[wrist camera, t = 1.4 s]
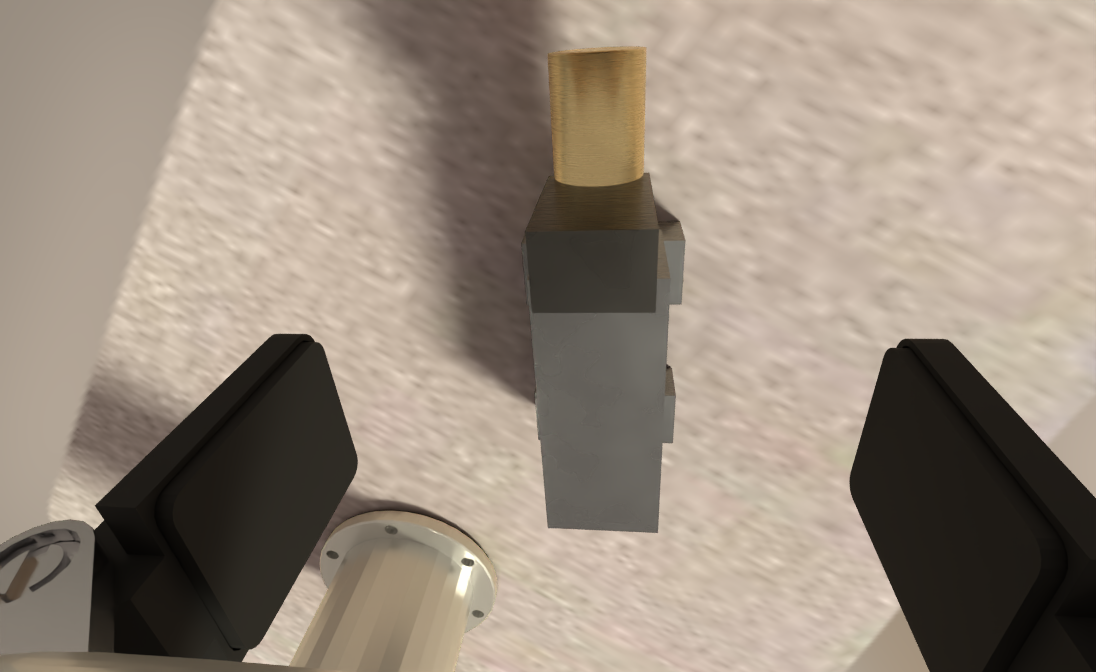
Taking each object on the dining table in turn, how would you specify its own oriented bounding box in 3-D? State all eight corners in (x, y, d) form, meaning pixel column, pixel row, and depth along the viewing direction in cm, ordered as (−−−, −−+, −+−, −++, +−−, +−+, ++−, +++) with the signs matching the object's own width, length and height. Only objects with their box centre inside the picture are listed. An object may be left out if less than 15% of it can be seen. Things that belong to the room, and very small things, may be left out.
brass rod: (640, 446, 29) (645, 576, 22) (568, 444, 29) (553, 571, 22) (650, 44, 20) (665, 62, 13) (547, 50, 20) (511, 71, 14)
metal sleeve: (668, 427, 32) (680, 533, 26) (545, 425, 33) (526, 526, 26) (680, 210, 26) (700, 278, 19) (528, 214, 27) (498, 280, 20)
